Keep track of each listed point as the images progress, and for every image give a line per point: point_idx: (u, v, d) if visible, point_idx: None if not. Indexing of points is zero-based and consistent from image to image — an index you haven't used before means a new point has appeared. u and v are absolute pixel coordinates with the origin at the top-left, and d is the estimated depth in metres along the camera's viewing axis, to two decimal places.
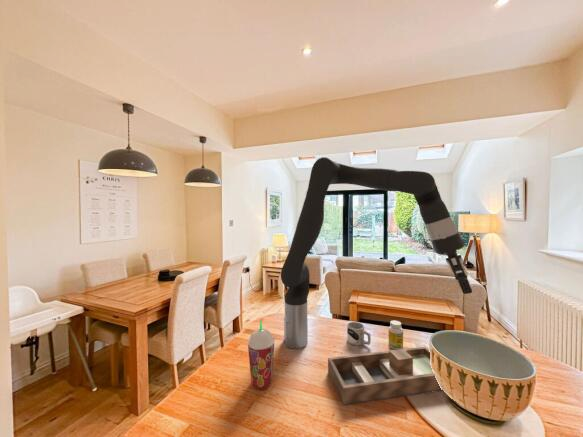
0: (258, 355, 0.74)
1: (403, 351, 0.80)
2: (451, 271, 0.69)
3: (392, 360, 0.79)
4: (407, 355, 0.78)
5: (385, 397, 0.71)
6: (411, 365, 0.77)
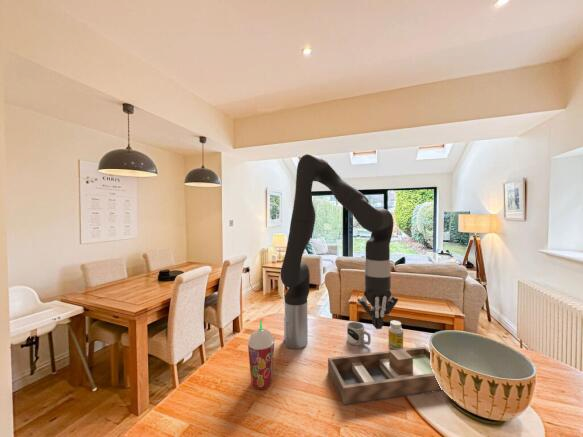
0: (258, 355, 0.74)
1: (403, 351, 0.80)
2: (370, 306, 0.78)
3: (392, 360, 0.79)
4: (407, 355, 0.78)
5: (385, 397, 0.71)
6: (411, 365, 0.77)
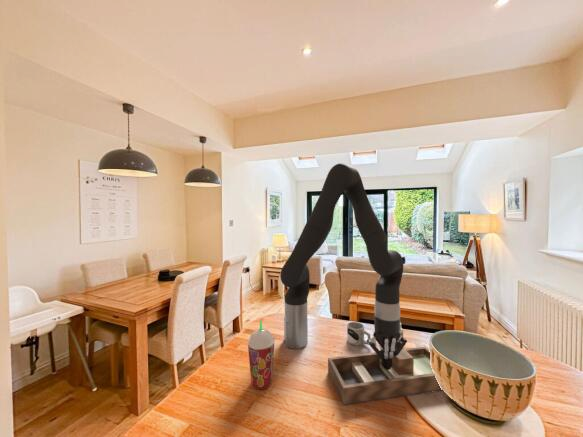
0: (258, 355, 0.74)
1: (404, 351, 0.80)
2: (379, 345, 0.79)
3: (393, 360, 0.79)
4: (408, 355, 0.78)
5: (385, 397, 0.71)
6: (412, 365, 0.77)
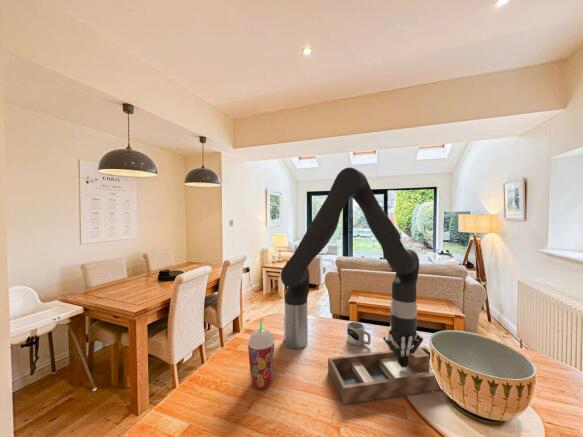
0: (258, 355, 0.74)
1: (419, 349, 0.81)
2: (395, 343, 0.80)
3: (408, 358, 0.80)
4: (423, 353, 0.79)
5: (385, 397, 0.71)
6: (427, 363, 0.78)
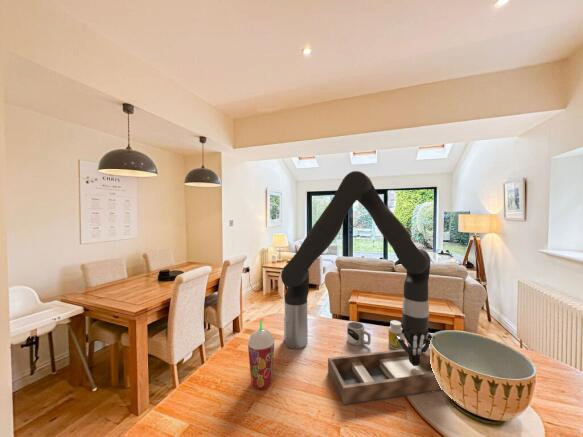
0: (258, 355, 0.74)
1: None
2: None
3: None
4: None
5: (385, 397, 0.71)
6: None
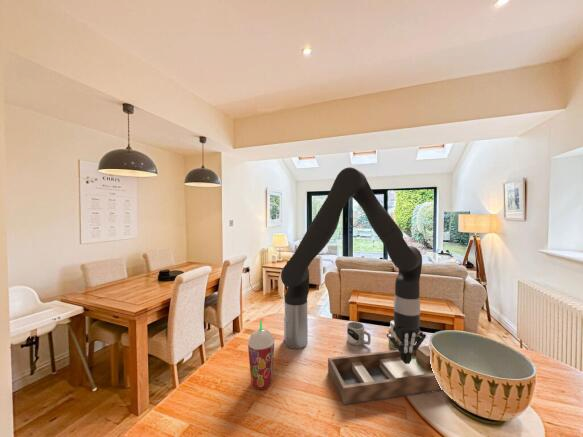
0: (258, 355, 0.74)
1: None
2: (398, 340, 0.81)
3: (420, 356, 0.81)
4: None
5: (385, 397, 0.71)
6: None
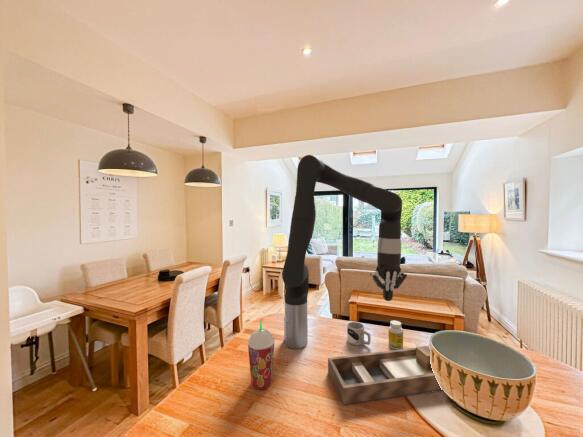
0: (258, 355, 0.74)
1: None
2: (381, 280, 0.87)
3: (420, 356, 0.81)
4: None
5: (385, 397, 0.71)
6: None
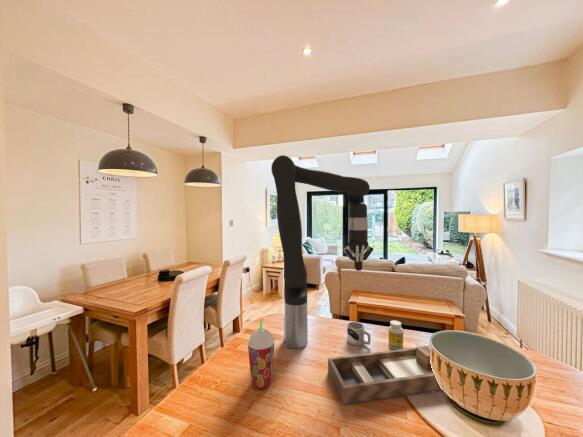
0: (258, 355, 0.74)
1: None
2: None
3: (420, 356, 0.81)
4: None
5: (385, 397, 0.71)
6: None
